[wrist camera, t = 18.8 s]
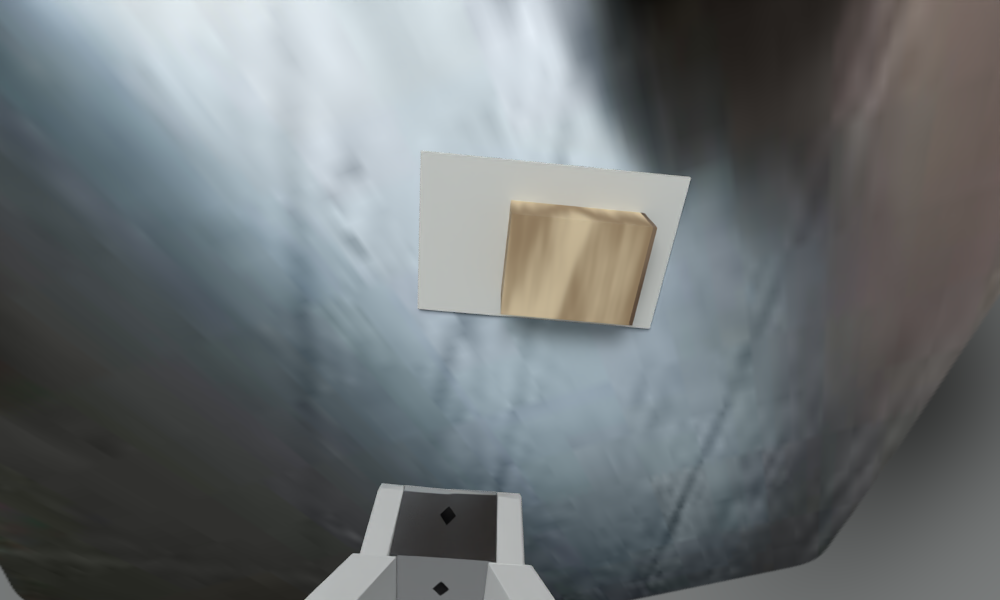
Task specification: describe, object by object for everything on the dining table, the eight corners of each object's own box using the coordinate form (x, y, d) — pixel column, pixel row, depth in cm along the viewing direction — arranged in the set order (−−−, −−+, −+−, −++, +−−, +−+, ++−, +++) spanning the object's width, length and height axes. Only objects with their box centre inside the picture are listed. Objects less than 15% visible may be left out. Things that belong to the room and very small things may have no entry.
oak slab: (510, 200, 36) (644, 212, 37) (500, 294, 40) (622, 304, 40) (511, 213, 33) (657, 227, 34) (500, 314, 37) (632, 325, 37)
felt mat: (688, 176, 36) (690, 178, 36) (648, 326, 42) (649, 328, 42) (421, 150, 35) (420, 151, 35) (418, 306, 41) (417, 308, 41)
